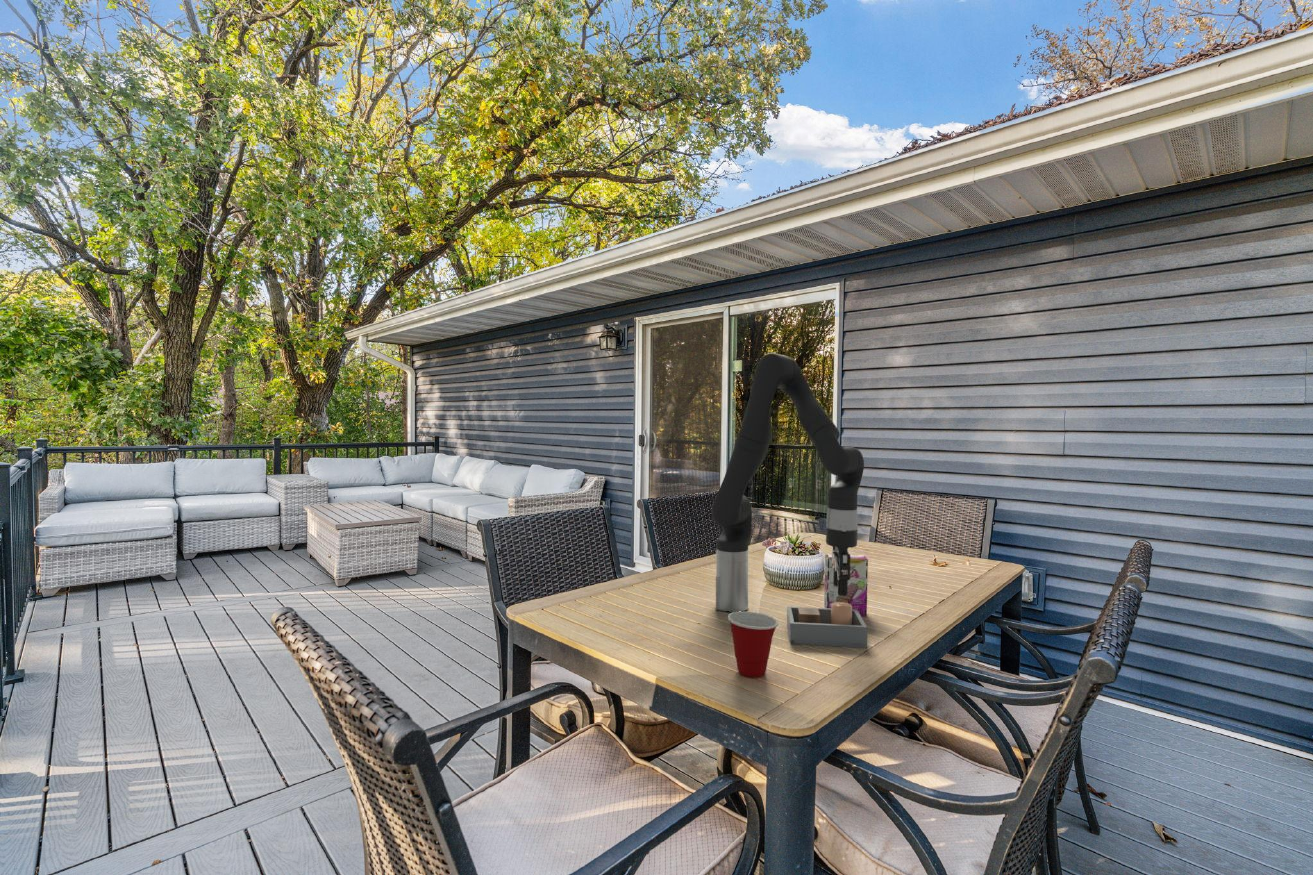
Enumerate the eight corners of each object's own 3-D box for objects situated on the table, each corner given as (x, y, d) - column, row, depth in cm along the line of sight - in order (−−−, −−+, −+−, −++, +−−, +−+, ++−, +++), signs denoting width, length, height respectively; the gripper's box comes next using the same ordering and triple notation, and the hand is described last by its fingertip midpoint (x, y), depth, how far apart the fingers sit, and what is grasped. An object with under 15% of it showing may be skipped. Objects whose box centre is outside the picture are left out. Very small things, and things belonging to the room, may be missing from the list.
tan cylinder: (832, 635, 150) (832, 607, 150) (829, 628, 155) (830, 601, 155) (853, 636, 149) (853, 608, 149) (849, 629, 154) (850, 602, 154)
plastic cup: (784, 682, 125) (784, 624, 124) (733, 684, 124) (733, 626, 124) (770, 662, 136) (770, 609, 135) (723, 663, 135) (723, 610, 134)
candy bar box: (827, 615, 169) (827, 557, 169) (823, 610, 174) (824, 553, 174) (868, 616, 168) (868, 558, 168) (863, 611, 173) (864, 554, 173)
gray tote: (790, 643, 147) (790, 623, 147) (786, 625, 161) (787, 606, 161) (867, 647, 144) (867, 627, 144) (857, 628, 158) (857, 609, 158)
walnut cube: (799, 633, 151) (799, 613, 151) (798, 627, 156) (798, 608, 156) (819, 634, 150) (820, 614, 150) (817, 628, 155) (818, 609, 155)
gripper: (823, 521, 159) (821, 582, 159) (829, 530, 145) (827, 597, 145) (852, 522, 158) (851, 583, 158) (862, 532, 144) (860, 599, 144)
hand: (840, 590), depth 152 cm, fingers open, 8 cm apart
